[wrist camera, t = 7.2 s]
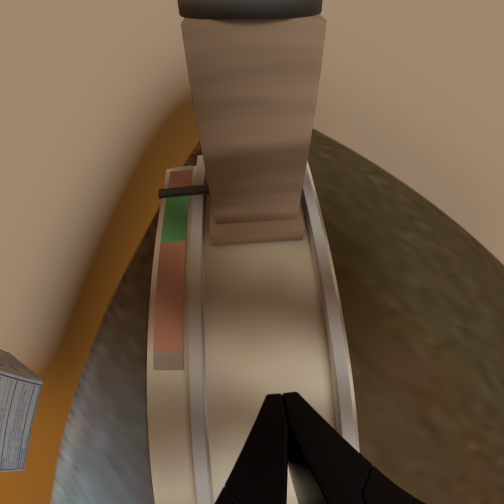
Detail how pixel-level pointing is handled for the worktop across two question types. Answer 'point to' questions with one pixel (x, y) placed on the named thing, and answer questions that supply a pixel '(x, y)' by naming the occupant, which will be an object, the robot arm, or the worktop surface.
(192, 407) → the scale board
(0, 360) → the medicine box
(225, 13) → the post
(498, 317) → the worktop surface
